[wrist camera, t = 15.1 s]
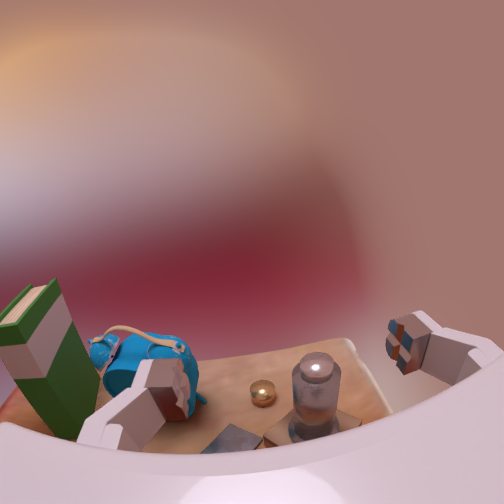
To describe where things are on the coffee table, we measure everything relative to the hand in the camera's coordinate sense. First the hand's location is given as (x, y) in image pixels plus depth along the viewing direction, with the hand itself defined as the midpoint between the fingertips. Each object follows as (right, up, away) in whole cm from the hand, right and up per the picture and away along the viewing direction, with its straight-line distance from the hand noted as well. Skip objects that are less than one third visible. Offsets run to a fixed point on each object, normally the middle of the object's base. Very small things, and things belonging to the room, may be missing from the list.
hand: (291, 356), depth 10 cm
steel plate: (-4, -26, +23) cm, 34 cm away
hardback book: (-35, -27, +29) cm, 53 cm away
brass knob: (+1, -21, +32) cm, 39 cm away
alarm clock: (-16, -24, +31) cm, 42 cm away
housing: (+7, -21, +21) cm, 31 cm away
